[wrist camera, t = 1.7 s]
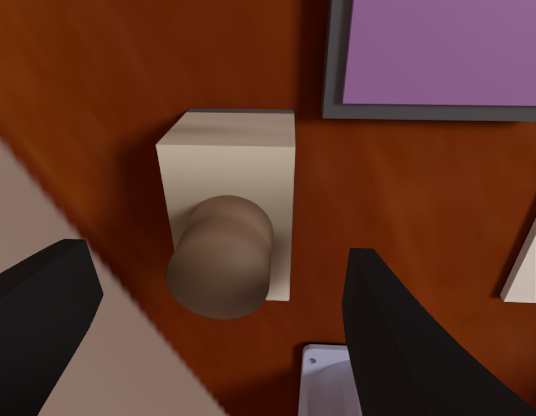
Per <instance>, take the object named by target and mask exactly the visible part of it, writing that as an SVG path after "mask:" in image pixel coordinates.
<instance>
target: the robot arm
mask: <svg viewBox="0 0 536 416" xmlns="http://www.w3.org/2000/svg"><path fill="white" fill-rule="evenodd" d="M102 297H103V291H102V288H101V285H100V282H99V279H98V276H97V273H96V270H95V267H94V264H93V261H92V258H91V255H90V252H89V249H88V246H87V243H86V240H82V239H63V240H61V241H58V242H56V243H54V244H52V245H50V246H48V247H47V248H45V249H43V250H41V251H39V252H37V253H35V254H34V255H32V256H30V257H28V258H27V259H25V260H23V261H21V262H20V263H18V264H16V265H14V266H13V267H11V268H9V269H7V270H5V271H4V272H2V273H1V274H0V416H37V415H38V414H39V412H40V410H41V408H42V407H43V405H44V403H45V401H46V400H47V398H48V397H49V395H50V393H51V392H52V390H53V388H54V387H55V385H56V383H57V382H58V380H59V378H60V377H61V375H62V373H63V372H64V370H65V368H66V367H67V365H68V363H69V362H70V360H71V358H72V357H73V355H74V353H75V352H76V350H77V348H78V346H79V345H80V343H81V341H82V340H83V338H84V336H85V335H86V333H87V331H88V329H89V328H90V325H91V323H92V321H93V318H94V316H95V314H96V312H97V309H98V307H99V304H100V302H101V300H102ZM342 312H343V322H344V331H345V340H346V344H347V346H340V345H318V344H309V345H306V346H305V347H304V348H303V356H302V369H301V382H300V395H299V408H298V416H536V410H535V409H534V408H533V407H531V406H530V405H529V404H527V403H526V402H525V401H524V400H522V399H521V398H520V397H519V396H518V395H516V394H515V393H514V392H513V391H512V390H510V389H509V388H508V387H507V386H506V385H504V384H503V383H502V382H501V381H500V380H499V379H498V378H496V377H495V376H494V375H493V374H492V373H491V372H490V371H488V370H487V369H486V368H485V367H484V366H483V365H482V364H480V363H479V362H478V361H477V360H476V359H475V358H474V357H473V356H471V355H470V354H469V353H468V352H467V351H466V350H465V349H464V348H463V347H462V346H461V345H460V344H459V343H458V342H457V341H456V340H455V339H454V338H453V337H452V336H451V335H450V334H449V333H448V332H447V331H446V330H445V329H444V328H443V327H442V326H441V325H440V324H439V323H438V322H437V321H436V320H435V319H434V318H433V317H432V316H431V315H430V314H429V313H428V312H427V310H426V309H425V308H424V307H423V306H422V305H421V304H420V303H419V302H418V300H417V299H416V298H415V297H414V296H413V295H412V294H411V293H410V292H409V290H408V289H407V288H406V287H405V286H404V285H403V283H402V282H401V281H400V280H399V279H398V277H397V276H396V275H395V274H394V273H393V271H392V270H391V269H390V268H389V267H388V265H387V264H386V263H385V262H384V261H383V259H382V258H381V257H380V256H379V254H378V253H377V252H376V251H375V250H374V249H366V248H350V252H349V258H348V265H347V272H346V278H345V285H344V292H343V298H342Z"/></svg>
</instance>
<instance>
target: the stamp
mask: <svg viewBox="0 0 536 416" xmlns="http://www.w3.org/2000/svg"><path fill="white" fill-rule="evenodd" d="M156 148H157V154H158V159H159V165H160V171H161V176H162V182H163V188H164V193H165V199H166V205H167V210H168V216H169V222H170V227H171V233H172V239H173V244H174V250H175V251H174V253H173V255H172V257H171V260H170V262H169V264H168V266H167V270H166V280H167V284H168V287H169V289H170V292H171V293H172V295H173V296H174V297H175V299H176V300H177V301H178V302H179V303H180V304H182V305H183V306H184V307H186V308H187V309H189V310H190V311H192V312H194V313H196V314H199V315H202V316H205V317H208V318H214V319H235V318H240V317H243V316H246V315H248V314H250V313H252V312H254V311H255V310H257V309H258V308H259V307H260V306H261V305H262V304H263V303H264V301H265V300H284V301H289V288H290V263H291V238H292V213H293V188H294V163H295V126H294V110H258V109H189V110H188V111H187V112H186V113H185V114H184V115H183V116H182V118H181V119H180V120H179V121H178V122H177V123H176V124H175V125H174V126H173V127H172V128H171V129H170V130H169V131H168V132H167V133H166V134H165V135H164V137H163V138H162V139H161V140H160V141H159V142H158V143H157V144H156Z"/></svg>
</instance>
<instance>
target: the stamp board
mask: <svg viewBox="0 0 536 416" xmlns="http://www.w3.org/2000/svg"><path fill="white" fill-rule="evenodd" d="M500 297H501V298H502V299H503V301H504V302H529V303H536V219H535V221H534V223H533V225H532V227H531V229H530V231H529V234H528V236H527V238H526V240H525V242H524V244H523V246H522V249H521V251H520V253H519V255H518V257H517V259H516V262H515V264H514V266H513V268H512V270H511V272H510V274H509V277H508V279H507V281H506V283H505V285H504V287H503V289H502V292H501V294H500Z"/></svg>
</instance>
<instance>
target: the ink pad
mask: <svg viewBox="0 0 536 416" xmlns="http://www.w3.org/2000/svg"><path fill="white" fill-rule="evenodd" d="M321 114H322V117H323V118H334V119H402V120H470V121H536V0H329V7H328V21H327V34H326V47H325V60H324V73H323V87H322V100H321Z"/></svg>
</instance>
